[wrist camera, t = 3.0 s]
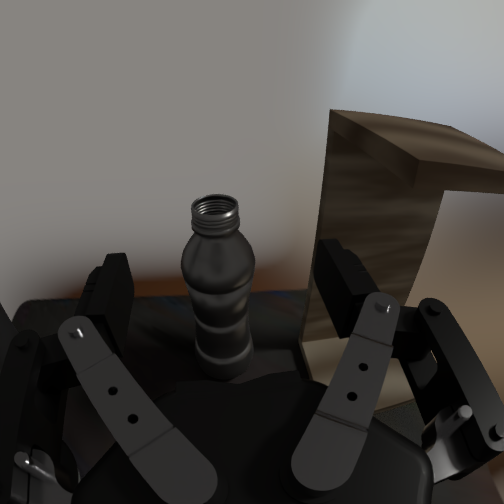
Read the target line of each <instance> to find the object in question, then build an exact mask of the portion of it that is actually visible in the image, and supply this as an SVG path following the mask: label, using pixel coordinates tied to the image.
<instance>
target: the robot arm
mask: <svg viewBox="0 0 504 504" xmlns="http://www.w3.org/2000/svg"><path fill="white" fill-rule="evenodd" d="M313 274H314V281H315V284H316V286H317V288H318V291H319V293H320V295H321V297H322V300H323V302H324V304H325V307H326V309H327V311H328V314H329V316H330V318H331V321H332V323H333V325H334V328H335V330H336V332H337V335H338V337H339V339H343V338H349V340H348V343H347V345H346V348H345V350H344V352H343V355H342V357H341V359H340V361H339V364H338V366H337V368H336V370H335V373H334V375H333V377H332V379H331V381H330V384H329V386H327V385H325V384H323V383H320V382H318V381H314V380H310V379H303V378H301V377H300V373H299V370H295V371H288V372H281V373H273V374H268V375H265V376H262V377H259V378H256V379H253V380H250V381H247V382H244V383H241V384H232V383H224V382H217V381H210V380H197V381H176V390H175V391H171V392H169V393H166V394H164V395H162V396H160V397H158V398H157V399H155V400H154V401H153V402H152V401H151V399H150V398H149V397H148V396H147V395H146V393H145V392H144V391H143V390H142V388H141V387H140V386H139V385H138V383H137V382H136V381H135V379H134V378H133V377H132V376H131V374H130V373H129V372H128V370H127V369H126V368H125V366H124V365H123V364H122V362H121V361H120V359H119V358H118V357H123V355H124V348H125V342H126V336H127V330H128V325H129V319H130V314H131V309H132V304H133V299H134V283H133V279H132V276H131V272H130V268H129V264H128V260H127V256H126V254H125V253H112V254H107V255H106V258H105V260H104V263H103V265H102V266H99V267H96V268H95V269H94V270H93V271H92V272H91V274H89V277H88V279H87V282H86V285H85V287H84V290H83V293H82V295H81V298H80V300H79V303H78V306H77V309H76V311H75V314H74V317H71V318H69V319H68V320H66V321H65V322H64V323H63V324H62V325H61V326H60V328H59V331H58V333H56V334H53V335H50V336H46V337H43V338H40V337H39V335H38V334H37V333H36V332H35V331H33V330H24V331H21V332H19V333H18V332H17V330H16V329H15V327H14V325H13V324H12V322H11V321H10V319H9V317H8V316H7V314H6V312H5V310H4V309H3V307H2V305H1V303H0V504H431V500H432V491H433V486H434V485H436V484H438V483H440V482H443V481H445V480H447V479H449V480H454V481H455V480H460V479H462V478H463V477H465V476H467V475H468V474H470V473H472V472H473V471H475V470H476V469H478V468H480V467H481V466H483V465H484V464H486V463H487V462H489V461H490V460H492V459H493V458H495V457H496V456H498V455H499V454H500V453H502V452H503V451H504V405H503V403H502V401H501V399H500V397H499V395H498V393H497V391H496V389H495V387H494V386H493V383H492V382H491V380H490V378H489V376H488V374H487V373H486V370H485V369H484V367H483V365H482V363H481V361H480V360H479V358H478V356H477V354H476V353H475V351H474V349H473V347H472V346H471V344H470V342H469V341H468V339H467V337H466V336H465V334H464V332H463V331H462V329H461V328H460V326H459V324H458V323H457V321H456V320H455V318H454V316H453V315H452V314H451V312H450V310H449V309H448V307H447V306H446V305H445V304H444V303H443V302H441V301H439V300H437V299H434V298H425V299H423V300H421V302H420V303H419V306H418V308H417V307H407V306H400V305H399V303H398V301H397V300H396V299H395V298H394V297H392V296H391V295H389V294H386V293H383V292H380V290H379V288H378V287H377V285H376V284H375V282H374V280H373V279H372V277H371V276H370V274H369V273H368V272H367V270H366V268H365V267H364V265H363V263H362V262H361V260H360V259H359V257H358V256H357V255H356V254H354V253H353V252H352V251H350V250H349V249H343V247H342V246H341V244H340V242H339V241H338V240H337V239H336V238H334V239H320V240H319V241H318V243H317V250H316V256H315V263H314V270H313ZM431 350H432V352H433V354H434V356H435V358H436V361H437V363H436V361H435V359H434V357H433V355H432V353H431ZM391 358H397V359H398V360H399V362H400V365H401V367H402V369H403V372H404V374H405V376H406V379H407V381H408V383H409V386H410V388H411V391H412V393H413V395H414V398H415V400H416V403H417V405H418V408H419V411H420V413H421V416H422V418H423V421H424V423H425V427H424V429H423V431H422V435H421V440H422V445H421V447H422V448H421V447H420V446H418V445H417V444H415V443H414V442H412V441H411V440H409V439H407V438H406V437H404V436H403V435H401V434H400V433H398V432H396V431H395V430H393V429H392V428H390V427H389V426H387V425H386V424H384V423H382V422H381V421H379V420H378V419H376V418H375V417H373V413H374V410H375V407H376V405H377V402H378V398H379V395H380V392H381V389H382V386H383V383H384V379H385V376H386V373H387V369H388V366H389V362H390V359H391ZM79 385H82V387H83V388H84V390H85V392H86V394H87V395H88V397H89V399H90V400H91V402H92V404H93V405H94V407H95V409H96V410H97V412H98V413H99V415H100V417H101V418H102V420H103V421H104V423H105V424H106V426H107V427H108V429H109V430H110V432H111V433H112V435H113V436H114V438H115V439H116V440H117V441H116V442H115V443H114V444H113V446H112V447H111V448H110V449H109V450H108V451H107V452H106V453H105V454H104V456H103V457H102V458H101V459H100V460H99V461H98V462H97V463H96V464H95V466H94V467H93V468H92V469H91V470H90V471H89V472H88V473H87V474H86V476H85V477H84V478H83V479H82V480H81V481H80V482H79V483H78V485H77V486H76V488H75V490H74V491H73V489H72V487H71V484H70V477H69V473H68V471H67V470H66V468H65V467H64V466H63V465H62V464H60V456H61V443H62V433H63V424H64V415H65V408H66V400H67V394H68V388H71V387H75V386H79Z"/></svg>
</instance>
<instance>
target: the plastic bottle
mask: <svg viewBox="0 0 504 504" xmlns="http://www.w3.org/2000/svg"><path fill="white" fill-rule="evenodd" d="M191 212H192V220H191V225H192V230H193V231H194V234H193V235H192V236H191V238H190V239H189V241H188V243H187V245H186V246H185V248H184V250H183V254H182V259H181V270H182V274H183V277H184V280H185V283H186V286H187V289H188V292H189V295H190V298H191V302H192V307H193V311H194V316H195V322H196V340H195V356H196V359H197V361H198V363H199V365H200V367H201V369H202V370H203V371H204V372H205V373H206V374H207V375H209V376H211V377H213V378H216V379H222V380H227V379H232V378H235V377H238V376H240V375H241V374H243V373H244V372H245V371H246V370H247V369H248V367H249V365H250V363H251V360H252V357H253V353H254V347H253V341H252V337H251V334H250V329H249V319H248V308H249V296H250V291H251V286H252V280H253V275H254V270H255V256H254V253H253V250H252V247H251V245H250V244H249V242H248V241H247V240H246V238H245V237H244V235H243V234H242V233H241V232H239V230H238V228H239V226H240V218H239V216H238V202H237V200H236V199H234V198H233V197H231V196H228V195H221V194H212V195H206V196H203V197H200V198H198V199H196V200H195V201H194V202H193V203H192V207H191Z"/></svg>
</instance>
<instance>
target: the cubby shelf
mask: <svg viewBox="0 0 504 504" xmlns="http://www.w3.org/2000/svg"><path fill="white" fill-rule="evenodd" d="M444 190H450V191H467V192H482V193H496V194H504V154H503V153H501V152H500V151H498V150H496V149H494V148H492V147H491V146H489V145H487V144H485V143H483V142H481V141H479V140H477V139H476V138H474V137H471V136H470V135H468V134H466V133H464V132H461V131H459V130H457V129H455V128H453V127H451V126H447V125H442V124H437V123H432V122H426V121H421V120H415V119H409V118H402V117H396V116H389V115H382V114H374V113H365V112H356V111H345V110H333V109H330V113H329V125H328V136H327V146H326V156H325V166H324V174H323V183H322V191H321V199H320V207H319V215H318V223H317V230H316V237H315V244H314V251H313V258H312V264H311V270H310V277H309V283H308V289H307V295H306V301H305V307H304V312H303V318H302V324H301V329H300V334H299V340H298V342H299V346H300V349H301V352H302V355H303V359H304V362H305V365H306V368H307V372H308V375H309V378H310V380H314V381H318V382H320V383H323V384H325V385H327V386H329V384H330V381H331V379H332V377H333V375H334V373H335V370H336V368H337V366H338V364H339V361H340V359H341V357H342V355H343V352H344V350H345V348H346V345H347V343H348V340H349V338H343V339H339V337H338V335H337V332H336V330H335V328H334V325H333V323H332V321H331V318H330V316H329V314H328V311H327V309H326V307H325V304H324V302H323V300H322V297H321V295H320V293H319V291H318V288H317V286H316V284H315V281H314V274H313V270H314V263H315V256H316V250H317V243H318V241H319V240H320V239H334V238H336V239H337V240H338V241H339V242H340V244H341V246H342V247H343V249H349V250H350V251H352V252H353V253H354V254H356V255H357V256H358V257H359V259H360V260H361V262H362V263H363V265H364V267H365V268H366V270H367V272H368V273H369V274H370V276H371V277H372V279H373V280H374V282H375V284H376V285H377V287H378V288H379V290H380V292H383V293H386V294H389V295H391V296H392V297H394V298H395V299H396V300H397V301H398V303H399V305H400V306H404V305H405V303H406V301H407V298H408V296H409V293H410V291H411V288H412V286H413V283H414V281H415V278H416V276H417V273H418V270H419V268H420V265H421V263H422V259H423V257H424V254H425V251H426V249H427V246H428V243H429V240H430V237H431V234H432V231H433V228H434V224H435V221H436V218H437V214H438V211H439V208H440V204H441V201H442V197H443V194H444ZM415 401H416V400H415V398H414V395H413V393H412V391H411V388H410V386H409V383H408V381H407V379H406V376H405V374H404V372H403V369H402V367H401V365H400V362H399V360H398V359H397V358H391V359H390V362H389V366H388V369H387V373H386V376H385V379H384V383H383V386H382V389H381V392H380V395H379V398H378V402H377V405H376V407H375V410H374V413H373V415H374V414H378V413H381V412H384V411H388V410H391V409H394V408H397V407H401V406H404V405H407V404H410V403H413V402H415Z"/></svg>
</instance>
